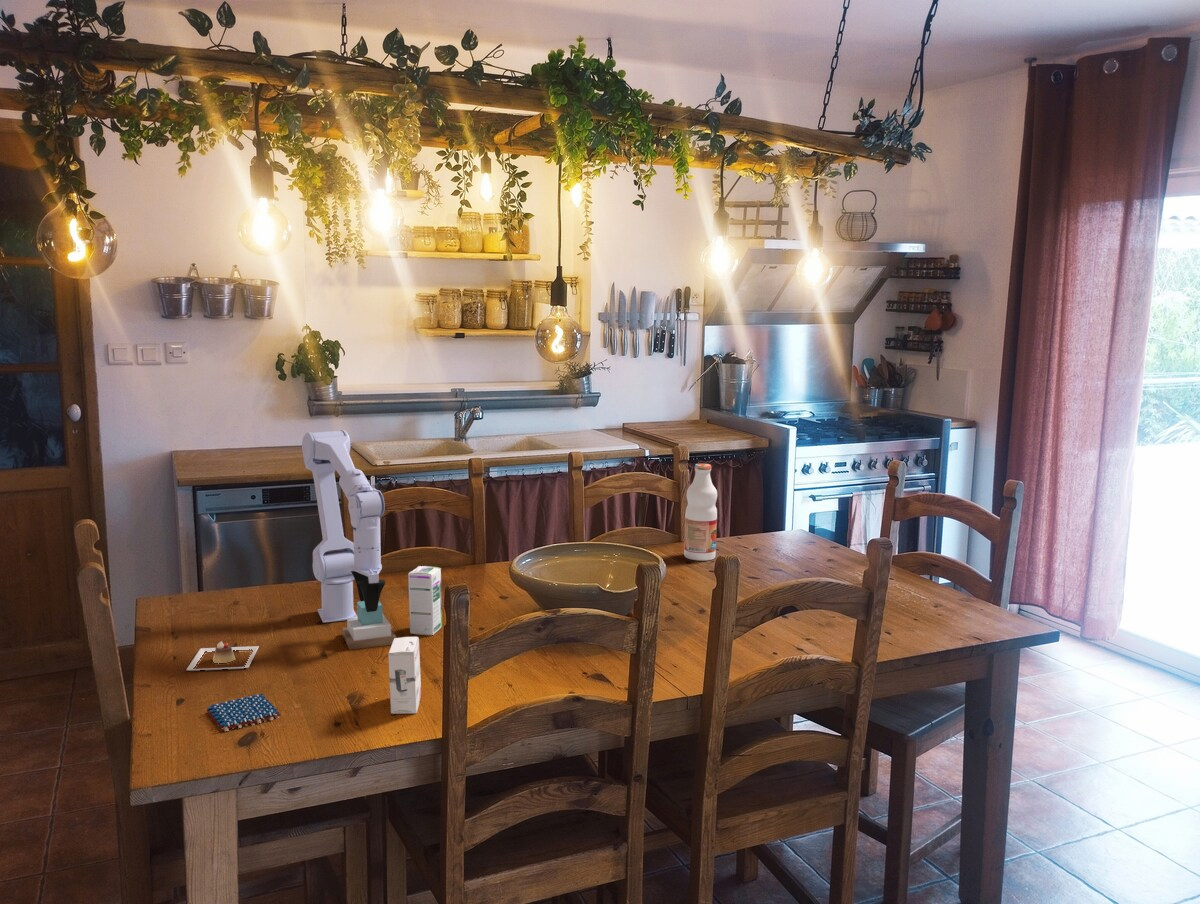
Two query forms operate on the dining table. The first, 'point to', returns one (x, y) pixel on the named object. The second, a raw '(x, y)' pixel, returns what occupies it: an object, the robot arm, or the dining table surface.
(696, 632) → the dining table surface
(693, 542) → the fruit juice
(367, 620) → the teal cube
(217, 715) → the woven mat
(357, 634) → the white slab
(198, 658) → the dessert
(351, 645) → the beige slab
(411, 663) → the ink box
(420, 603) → the syrup box
